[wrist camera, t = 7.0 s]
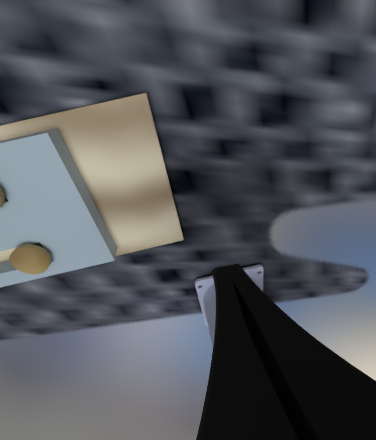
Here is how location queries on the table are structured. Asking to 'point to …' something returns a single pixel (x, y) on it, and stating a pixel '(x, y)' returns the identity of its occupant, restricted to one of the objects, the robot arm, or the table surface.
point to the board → (109, 175)
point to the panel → (48, 207)
